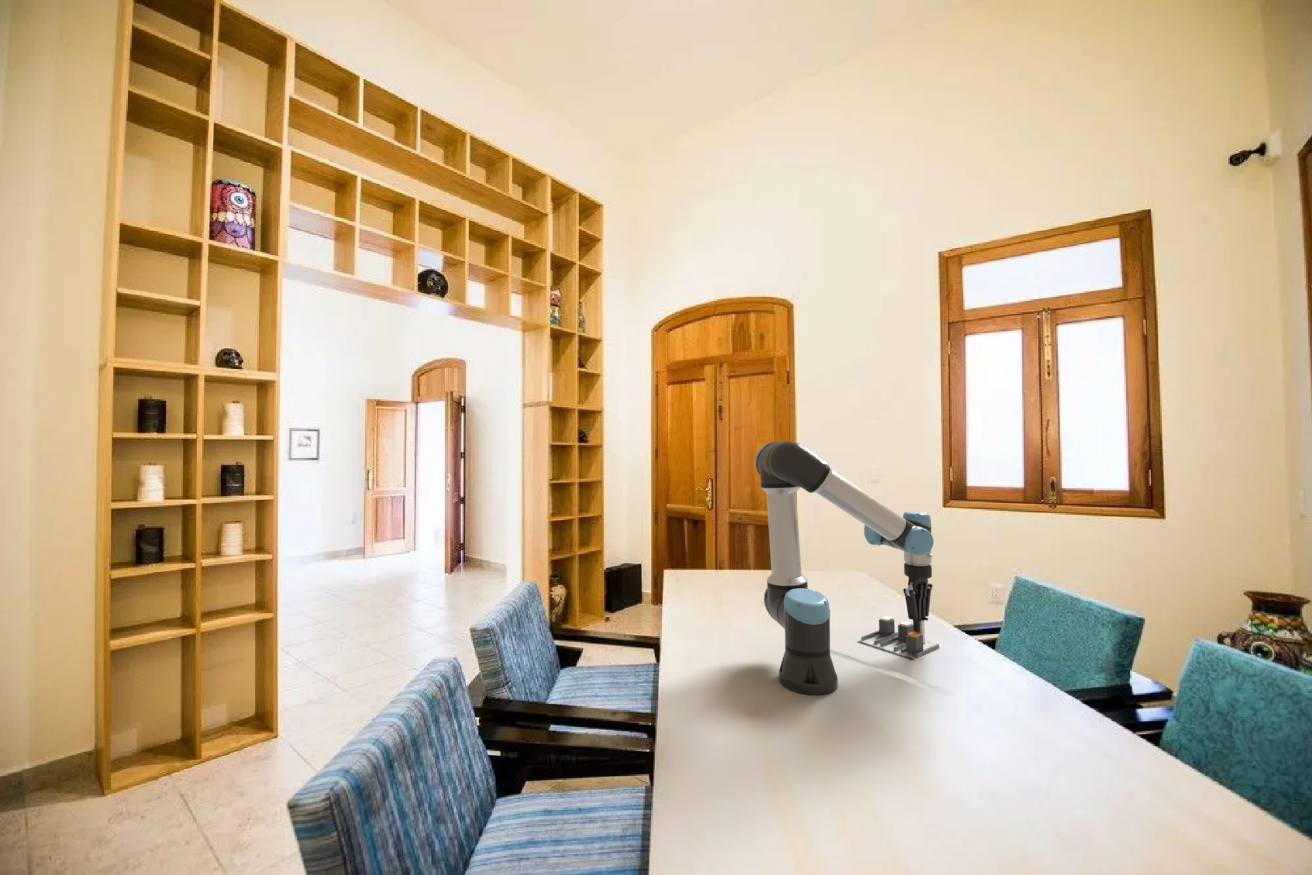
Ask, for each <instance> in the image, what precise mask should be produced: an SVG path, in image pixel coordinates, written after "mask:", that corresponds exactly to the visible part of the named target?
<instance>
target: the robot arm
mask: <svg viewBox="0 0 1312 875" xmlns="http://www.w3.org/2000/svg"><path fill="white" fill-rule="evenodd" d="M754 466H755V469H756V472H757V474H758V475H759V476H760V478H759V480H760V489H761V490H762V491H763V492H764V493H765V494H766V505H767V506H766V508H767V523H768V538H769V539H768V540H769V549H770V550H769V553H770V554H769V556H770V567H771V574H770V575H769V576H768V577H767V578H766V587H767V588H766V589H765V591H764V595H763V603H764V607H765V610H766V611H767V613H768V615H769V616H770V617H771V619H773V620H774V621H775V622H776V623H777V624H778V625H779V626H781V627H782V628H783V629H784V654H783V656H782V661H781V663H780V667H779V669H778V681H779V683H780V684H781V685H782V686H783V687H784V688H786V689H788V690H790V691H792V692H796V693H799V694H804V695H805V694H806V695H815V696H816V695H817V696H818V695H820V696H821V695H827V694H830V693H832V692H834V691H836V690H837V688H838V686H839V685H838V679H839V678H838V674H837V672H836V670H835V667H834V663H833V660H832V656H831V626H830V625H831V624H830V623H831V619H830V617H831V610H830V602H829V599H828V598H827V597H826V595H824V594H823V593H822V592H819V591H817V590H813V589H811V588H809V587H808V585H809V583H808V578H807V577H805V576H804V575H803V573H802V561H801V548H800V547H801V546H800V531H799V518H798V516H799V515H798V514H799V512H798V501H797V492H798V490H799V489H800V488H801V489H803V490H805V491H806V492H808V493H810V494H813V493H816V494H817V495H819V496H821V497H822V498H824V499H825V500H826V501H828V502H830V503H831V504H832V505H834V506H836V507H837V508H838V509H840V510H842V511H843V512H844V513H846V514H848V515H849V516H851V517H852V518H853V519H856V520H857V521H859V522H860V523H861V524H863V525H864V527H863V531H864V532H863V534H864V538H865V539H866V542H867V543H868V544H869V545H871V546H872V545H873V546H888V547H891V548H894V549H896V550H900V551H902V552H903V561H904V563H903V570H904V571H903V573H904V574H903V575H905V576H906V577H908V581H907V586H908V587H907V588H903V589H902V590H903V591H902V592H903V595H904V596H905V604H906V610H907V616H908V619H909V620H912V625H913V631H914V632H917V633H921V635H923V643H925V644H926V642H925V640H926V638H925V636H926V635H925V633H926V632H925V621H926V622H928V621H929V618H928V617H929V614H930V607H931V606H930V603H931V594H932V590H933V584H932V583H929V580H928V579H930V578H932V575H933V566H932V565H931V563H932V558H933V554H932V549H933V547H934V537H933V535H932V519H931V515H930V514H929V513H928V512H926V511H925V512H924V511H915V510H914V511H913V510H911V511H904V513H903V515H902V516H901V514H899V513H897V512H895V511H894V510H893V509H891V508H890V507H888V506H887V505H885V504H884V503H883V502H880V501H879V500H878V499H876V498H875V497H873V496H872V495H870V494H869V493H868V492H866V491H864V490H863V489H862V488H860V487H859V486H856V485H855V484H854V483H852V482H851V481H849V480H848V479H846V478H845V477H844V476H842V475H841V474H840V473H837V472H836V471H834V470H833V469H832V464H830V462H828V461H826V460H825V459H823V458H822V457H821V456H819V455H818V454H816V453H815V452H813V451H812V450H810V449H809V448H808V447H806V446H805V445H803V444H801V443H799V442H796V441H793V440H792V441H790V440H788V441H787V440H786V441H772V442H769V443H766V444H764V445H762V447H761V448H759V450H758V451H757V453H756V455H755V459H754Z"/></svg>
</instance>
